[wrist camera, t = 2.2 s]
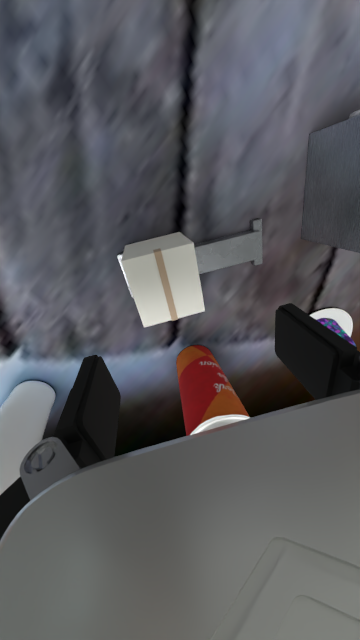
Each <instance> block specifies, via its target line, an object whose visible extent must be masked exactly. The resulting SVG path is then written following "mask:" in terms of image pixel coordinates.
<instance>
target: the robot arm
mask: <svg viewBox="0 0 360 640" xmlns="http://www.w3.org/2000/svg"><path fill="white" fill-rule="evenodd" d="M275 352H276V355H277V356H278V357H279V358H280V360H281V361H282V362H283V363H284V364H285V365H286V366H287V368H288V369H289V370H290V371H291V372H292V373H293V374H294V375H295V377H296V378H297V379H298V380H299V381H300V382H301V383H302V385H303V386H304V387H305V388H306V389H307V390H308V391H309V392H310V394H311V395H312V396H313V397H314V398H315V399H316V400H314V401H311V402H307V403H303V404H300V405H296V406H292V407H289V408H285V409H281V410H278V411H274V412H271V413H267V414H263V415H260V416H256V417H253V418H249V419H245V420H242V421H238V422H235V423H231V424H227V425H224V426H220V427H217V428H213V429H210V430H206V431H203V432H199V433H196V434H192V435H189V436H185V437H182V438H178V439H175V440H171V441H168V442H164V443H161V444H157V445H154V446H150V447H147V448H143V449H140V450H136V451H133V452H130V453H127V454H123V455H120V456H117V457H114V454H115V445H116V435H117V426H118V417H119V408H120V392H119V390H118V388H117V386H116V384H115V382H114V380H113V378H112V376H111V374H110V372H109V371H108V369H107V367H106V365H105V363H104V361H103V359H102V357H98V356H97V355H93V356H89V357H85V358H84V359H83V362H82V364H81V367H80V370H79V372H78V375H77V378H76V380H75V383H74V386H73V388H72V389H71V391H70V393H69V396H68V399H67V401H66V404H65V407H64V409H63V412H62V414H61V417H60V420H59V422H58V425H57V428H56V430H55V433H54V435H53V437H50V438H47V439H44V440H42V441H40V442H39V443H38V444H36V445H35V446H34V447H33V448H32V449H31V450H29V452H28V453H27V454H26V456H25V457H24V459H23V461H22V462H21V465H20V469H19V470H20V477H19V478H18V479H17V480H16V481H15V482H14V483H13V484H12V485H10V486H9V487H8V488H7V489H6V490H5V491H4V492H3V493H2V494H1V495H0V640H360V352H359V351H357V347H356V346H354V345H353V344H351V343H350V342H348V341H347V340H345V339H344V338H342V337H341V336H339V335H338V334H336V333H335V332H333V331H332V330H330V329H329V328H327V327H326V326H324V325H323V324H321V323H320V322H319V321H317V320H316V319H314V318H313V317H311V316H310V315H308V314H307V313H305V312H304V311H302V310H301V309H299V308H298V307H296V306H295V305H293V304H291V303H289V304H286V305H282V306H279V308H278V309H277V310H276V317H275Z"/></svg>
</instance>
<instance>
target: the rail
mask: <svg viewBox="0 0 360 640" xmlns="http://www.w3.org/2000/svg"><path fill="white" fill-rule="evenodd" d="M194 248H195V254H196V260H197V266H198V272H199V274H202V273H206V272H210V271H214V270H217V269H221V268H225V267H229V266H233V265H237V264H240V263H244V262H248V261H251V263H252V264H253V265H254V266H255V265H259V264H262V219H255V220H251V221H250V230H248V231H245V232H241V233H237V234H233V235H229V236H225V237H221V238H217V239H213V240H209V241H205V242H201V243H197V244H194ZM122 256H123V253H120V254H118V255H117V257H118V260H119V263H120V265H121V268H122V271H123V274H124V277H125V279H126V282H127V285H128V288H129V291H130V294H131V296H132V298H133V294H132V291H131V289H130V286H129V283H128V280H127V277H126V274H125V271H124V269H123V266H122V263H121V259H122Z"/></svg>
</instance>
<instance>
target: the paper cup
mask: <svg viewBox="0 0 360 640" xmlns="http://www.w3.org/2000/svg"><path fill="white" fill-rule="evenodd" d="M176 364H177V373H178V380H179V387H180V394H181V401H182V408H183V415H184V421H185V428H186V435H187V436H189V435H192V434H196V433H199V432H203V431H206V430H210V429H213V428H217V427H220V426H224V425H227V424H231V423H235V422H238V421H242V420H245V419H249V418H250V417H249V415H248V414H247V412H246V410H245V408H244V407H243V405H242V403H241V402H240V400H239V398H238V397H237V395H236V393H235V391H234V390H233V388H232V386H231V385H230V383H229V381H228V380H227V378H226V376H225V374H224V373H223V371H222V369H221V368H220V366H219V364H218V363H217V361H216V359H215V358H214V356H213V355H212V353H211V352H210V350H209V349H208V348H206V347H204V346H201V345H193V346H189V347H187V348H185V349H184V350H182V351H181V352H180V354H179V355H178V357H177V362H176Z"/></svg>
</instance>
